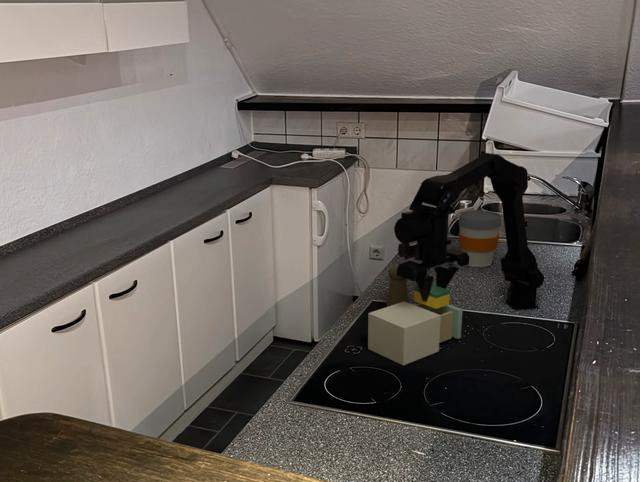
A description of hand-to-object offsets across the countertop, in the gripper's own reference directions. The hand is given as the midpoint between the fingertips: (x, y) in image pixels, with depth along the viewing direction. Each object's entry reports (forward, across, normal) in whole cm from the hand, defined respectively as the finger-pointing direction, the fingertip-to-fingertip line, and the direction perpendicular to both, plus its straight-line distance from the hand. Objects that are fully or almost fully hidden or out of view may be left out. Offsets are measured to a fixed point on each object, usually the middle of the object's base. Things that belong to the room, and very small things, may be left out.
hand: (431, 298), depth 179 cm
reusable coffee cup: (+11, -54, -31) cm, 63 cm away
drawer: (+10, 0, 0) cm, 10 cm away
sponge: (+1, 0, 0) cm, 1 cm away
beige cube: (+11, +9, 0) cm, 14 cm away
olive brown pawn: (+11, -10, -21) cm, 26 cm away
